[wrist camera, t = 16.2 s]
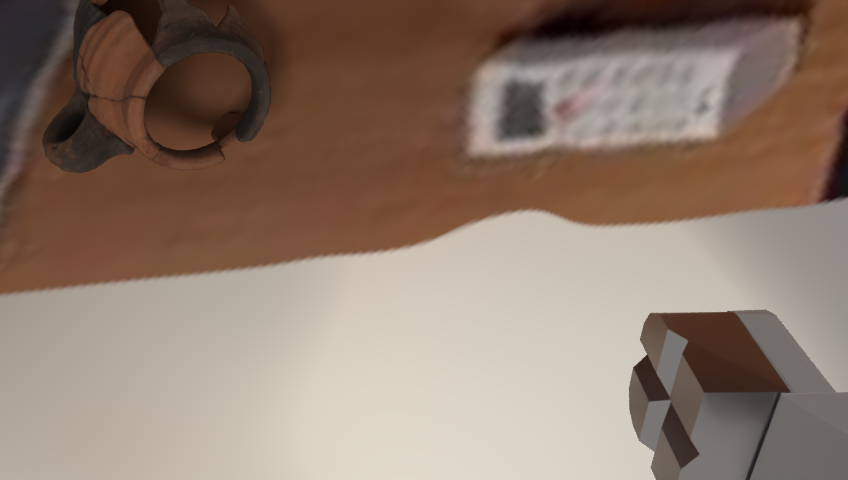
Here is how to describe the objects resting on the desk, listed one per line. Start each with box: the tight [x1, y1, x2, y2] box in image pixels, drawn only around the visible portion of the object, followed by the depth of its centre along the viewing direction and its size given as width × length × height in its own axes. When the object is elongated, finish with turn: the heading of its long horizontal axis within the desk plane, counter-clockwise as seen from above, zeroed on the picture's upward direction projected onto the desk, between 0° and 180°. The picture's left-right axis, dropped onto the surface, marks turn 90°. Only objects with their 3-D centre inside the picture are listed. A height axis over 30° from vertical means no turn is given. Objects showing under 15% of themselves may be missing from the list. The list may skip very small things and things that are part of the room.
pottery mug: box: [42, 0, 271, 173], centre depth 42 cm, size 12×10×8 cm
